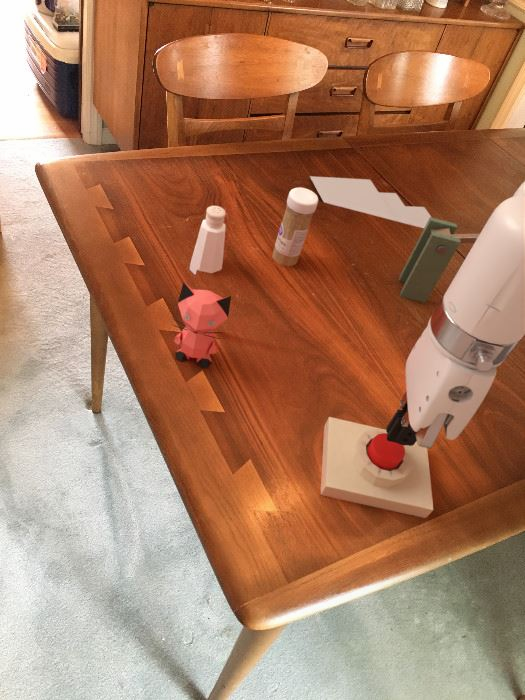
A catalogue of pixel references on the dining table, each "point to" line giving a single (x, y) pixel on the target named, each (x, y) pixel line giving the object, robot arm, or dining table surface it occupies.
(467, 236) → the lever
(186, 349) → the cat figurine
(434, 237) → the bracket
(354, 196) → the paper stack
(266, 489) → the dining table surface
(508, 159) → the dining table surface
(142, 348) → the dining table surface
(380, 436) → the button
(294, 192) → the sprinkles bottle
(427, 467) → the control block
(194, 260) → the pepper shaker
